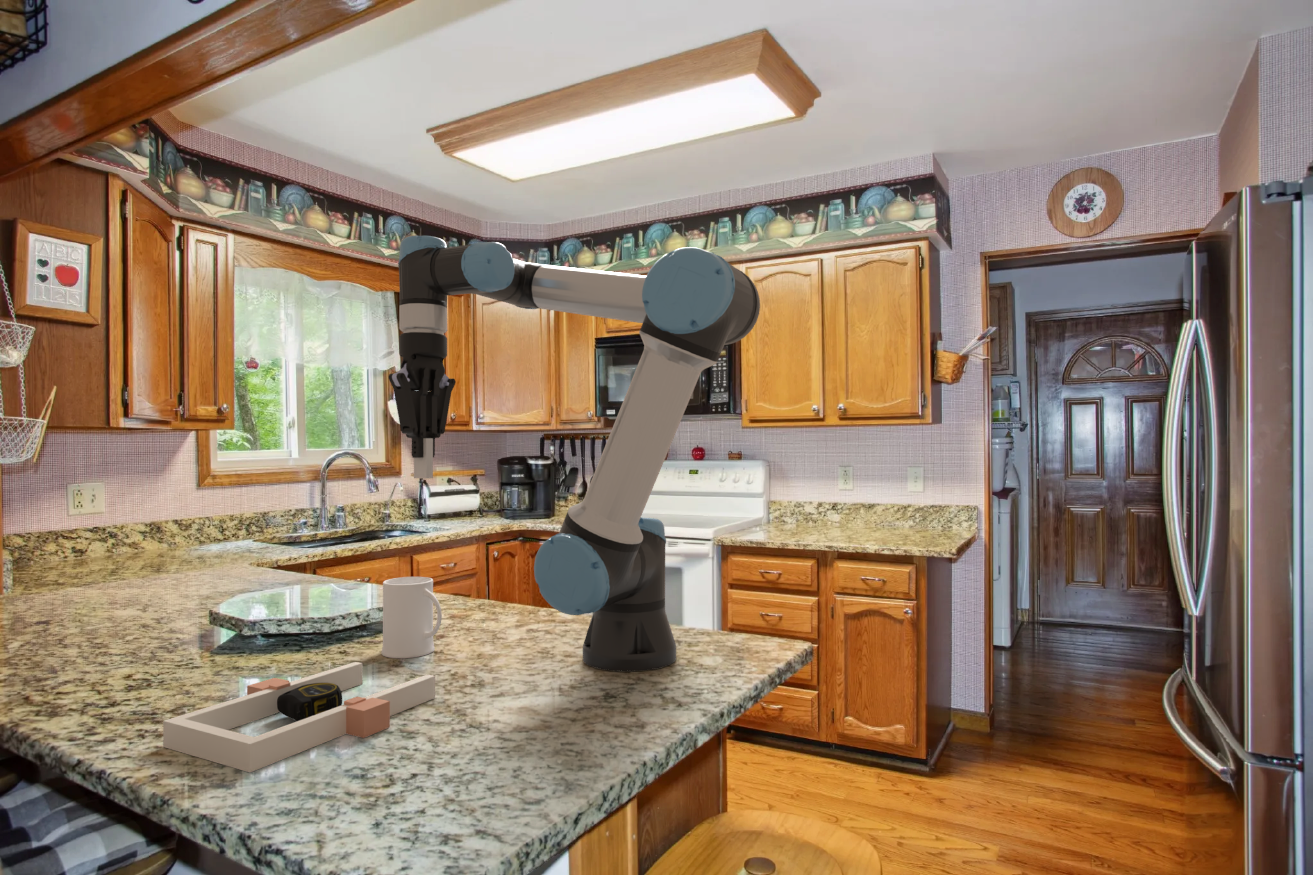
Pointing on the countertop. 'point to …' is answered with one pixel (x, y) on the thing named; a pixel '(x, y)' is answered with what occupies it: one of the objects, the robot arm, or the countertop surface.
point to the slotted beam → (356, 717)
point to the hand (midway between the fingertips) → (423, 478)
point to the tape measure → (309, 700)
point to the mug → (409, 617)
